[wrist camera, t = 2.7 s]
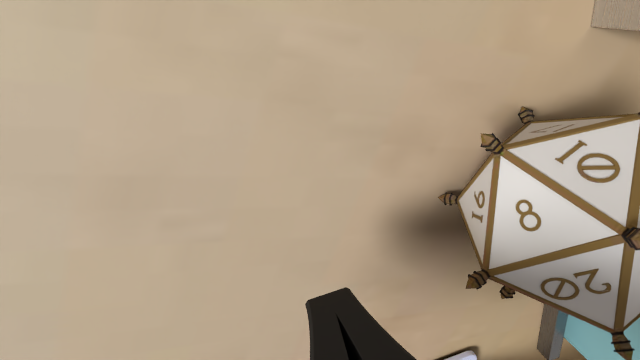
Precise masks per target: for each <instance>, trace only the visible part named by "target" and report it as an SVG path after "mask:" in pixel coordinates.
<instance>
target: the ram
mask: <svg viewBox="0 0 640 360" xmlns="http://www.w3.org/2000/svg"><path fill="white" fill-rule="evenodd" d="M624 335H625V337H626V338H627V339H628V340H630V341H631V342H629V343H630V345H631V347H632V348H634V349H635V350H634V351H633V355H632V360H640V318H638V319H637V320H636V321H635V322H634V323H633V324H632V325H630V326H629V327H628V328H627V329H626V330H625V331H624ZM564 338H565V339H566V340H567V341H568V342H569V343H570V344H572V345H573V346H574V347H575V348H576V349H577V350H578V351H579V352H580V353H581V354H582V355H583V356H584V357H585V358H586V359H587V360H625V359H624V358H623V357H622V356H620V355H619V354H618V353H617V352H614V351H613V350H615V348H614V345H613V344H611V342H612V335H611V333H609V332H607V331H605V330H603V329H600V328H598V327H596V326H594V325H591V324H589V323H587V322H585V321H582V320H580V319H578V318H576V317H574V316H571V315H569V314H568V319H567V323H566V328H565V332H564Z"/></svg>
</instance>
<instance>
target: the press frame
mask: <svg viewBox="0 0 640 360" xmlns="http://www.w3.org/2000/svg"><path fill="white" fill-rule="evenodd" d="M591 27H601V28H613V29H624V30H636V31H640V0H596V1H595V7H594V12H593V18H592V24H591ZM567 319H568V314H567V313H565V312H562V311H560V310H558V309H556V308H553V307H551V306H549V305H547V304H544V309H543V315H542V321H541V327H540V333H539V339H538V345H537V349H538V350H539V352H540V353H541V354H542V355H543V356H544V357H545V358H546V359H547V360H553V359H556V358H558V357H559V355H560V351H561V346H562V342H563V337H564V332H565V328H566V323H567Z"/></svg>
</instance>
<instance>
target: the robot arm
mask: <svg viewBox="0 0 640 360" xmlns="http://www.w3.org/2000/svg"><path fill="white" fill-rule="evenodd" d="M305 305H306V309H307V313H308V320H309V330H310V360H416V359H415V358H414V357H413V356H412V355H411V354H410V353H409V352H407V351H406V350H405V349H404V348H403V347H402V346H401V345H400V344H399V343H398V342H397V341H395V340H394V339H393V338H392V337H391V336H390V335H389V334H388V333H387V332H386V331H385V330H384V329H383V328H382V327H381V326H380V325H379V324H378V322H377V321H376V320H375V319H374V318H373V317H372V316H371V315H370V314H369V313H368V312H367V310H366V309H365V308H364V307H363V306H362V305H361V303H360V302H359V301H358V300H357V298H356V297H355V296H354V294H353V293H352V292H351V290H350V289H348V288H343V289H340V290H337V291H334V292H331V293H328V294H325V295H322V296H319V297H316V298H313V299H310V300H308V301H307V302H306V304H305ZM444 360H477V356H476V355H475V353H474V352H473V351H465V352H463V353H460V354H457V355H455V356H452V357H449V358H447V359H444Z"/></svg>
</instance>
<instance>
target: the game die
mask: <svg viewBox="0 0 640 360" xmlns="http://www.w3.org/2000/svg"><path fill="white" fill-rule="evenodd" d="M532 112H533V110H528V109H526V108H524V107H522V108H521V111H520V113H519V114H518V115H519V117H520V119H521V121H522V123H524V124H525V125H524V126H523V127H522V128H520V129H519V130H518V131H517V132H515V133H514V134H513V135H512V136H511V137H509V138H508V139H507V140H506V141H505V142H503V143H502V144H501V142H500V141H499V139H498V138H496V137H495V135H494V134H493V133H492V134H481V139H482V144H481V147H485V148H486V151H491V152H493V153H492V154H491V155H490V156H489V158H488V159H487V160H486V162H485V163H484V164H483V165H482V167H481V168H480V169H479V170H478V172H477V173H476V174H475V176H474V177H473V178H472V179H471V181H470V182H469V183H468V184H467V186H466V187H465V188H464V190H463V191H462V192H461V193H460V195H459V196H455V195H454V194H452V193H451V194H448V193H447V192H446V193H445V194H444V195H442V196H440V197H438V198H439V199H440V200H441V201H442V202H444V204H445V205H446V204H450V205H452V204H457V205H458V207H459V210H460V213H461V215H462V218H463V221H464V223H465V226H466V229H467V232H468V234H469V237H470V240H471V242H472V245H473V248H474V250H475V253H476V256H477V259H478V261H479V264H480V267H481V269H482V270H481V271H478V272H476V271H474V272H473V274H472V275H470V274H469V275H468V282H467V285H466V289H469V288H476V289H479V288H481V287H482V286H481V285H484V284H486V283H487V282H486V281H487V279H491V280H493V281H495V282H497V283H500V284H502V285H504V287H502V288H501V290H500V293H501V298H502V299H504V298H513V296H512V295H513V294H515V291H518V292H520V293H522V294H524V295H527V296H529V297H531V298H533V299H535V300H538V301H540V302H542V303H544V304H547V305H549V306H551V307H553V308H556V309H558V310H560V311H562V312H565V313H567V314H569V315H571V316H574V317H576V318H578V319H580V320H582V321H585V322H587V323H589V324H591V325H594V326H596V327H598V328H600V329H603V330H605V331H607V332H609V333H611V335H612V342H611V344H613V345H614V348H615V350H613V351H614V352H617V353H618V354H619V355H620V356H622V357H623V358H624V359H625V360H632V355H633V351H634V350H635V349H634V348H632V347H631V345H630V343H629V342H631V341H630V340H628V339H627V338H626V337H625V335H624V331H625V330H626V329H627V328H628V327H629V326H630V325H632V324H633V323H634V322H635V321H636V320H637V319H638V318H640V112H639V113H638V114H627V115H614V116H600V117H587V118H574V119H561V120H547V121H533V118H534V115H533V114H532ZM500 144H501V145H500Z"/></svg>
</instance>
